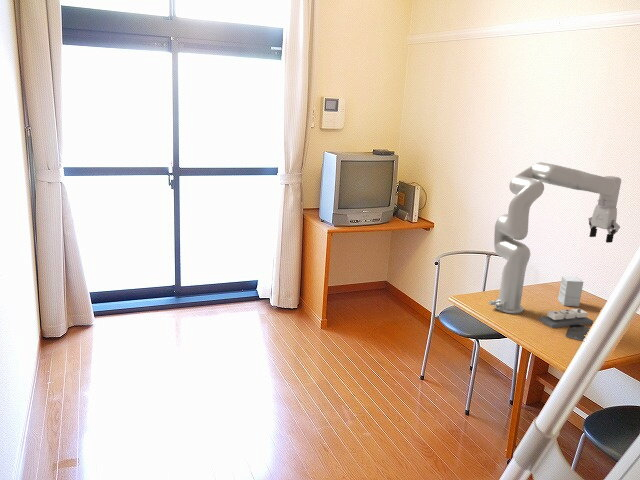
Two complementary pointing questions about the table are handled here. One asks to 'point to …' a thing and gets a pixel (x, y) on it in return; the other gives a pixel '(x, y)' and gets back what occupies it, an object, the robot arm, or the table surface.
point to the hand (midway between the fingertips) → (600, 239)
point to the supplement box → (570, 291)
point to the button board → (565, 321)
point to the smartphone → (577, 332)
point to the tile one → (555, 315)
